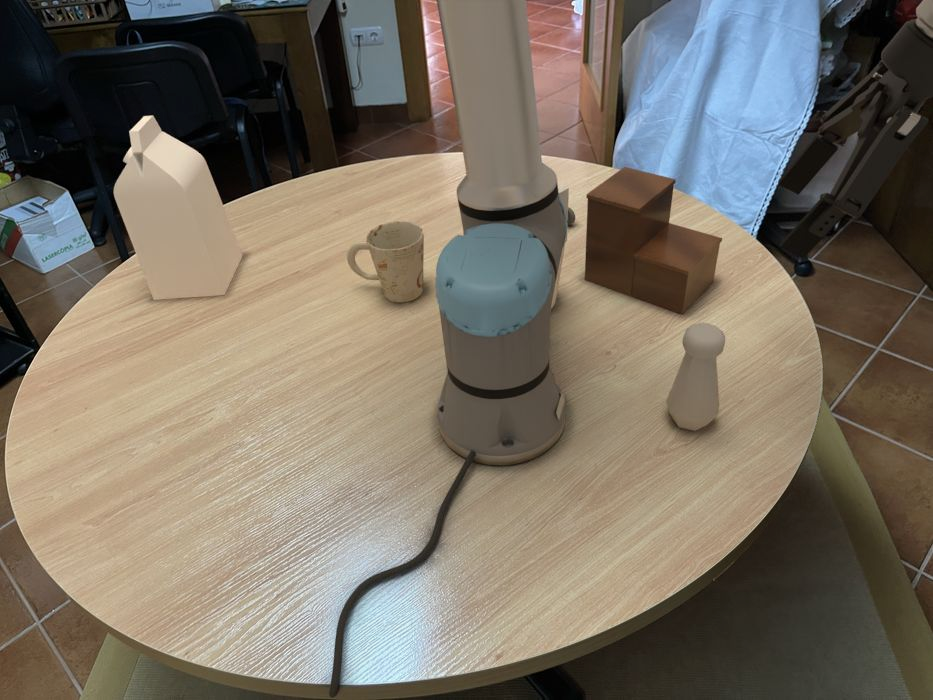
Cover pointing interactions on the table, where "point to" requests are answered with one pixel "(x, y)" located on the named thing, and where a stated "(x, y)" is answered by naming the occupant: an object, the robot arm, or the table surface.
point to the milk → (175, 216)
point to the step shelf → (645, 242)
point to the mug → (394, 259)
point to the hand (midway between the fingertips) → (789, 218)
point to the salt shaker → (697, 378)
